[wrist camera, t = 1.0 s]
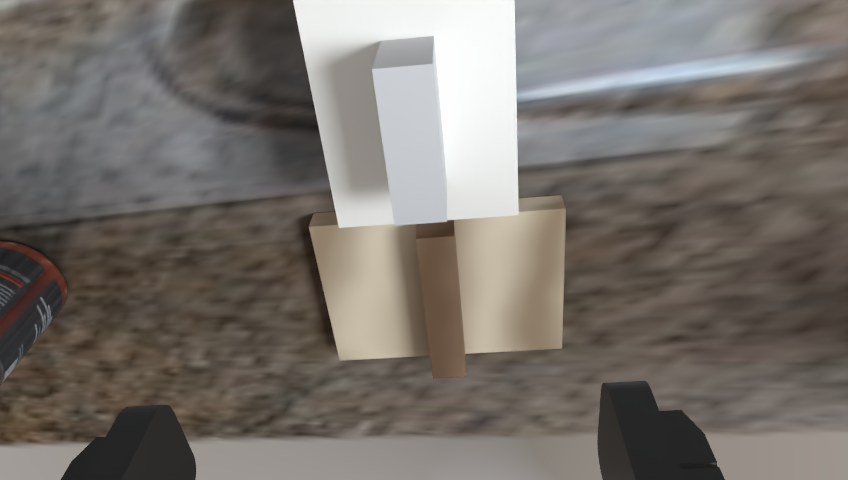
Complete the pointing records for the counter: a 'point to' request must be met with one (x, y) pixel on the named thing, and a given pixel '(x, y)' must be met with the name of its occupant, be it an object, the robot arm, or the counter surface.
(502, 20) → the notched white block
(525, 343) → the wall board
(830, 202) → the counter surface
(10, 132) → the counter surface
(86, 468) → the robot arm
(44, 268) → the supplement bottle
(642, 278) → the counter surface
